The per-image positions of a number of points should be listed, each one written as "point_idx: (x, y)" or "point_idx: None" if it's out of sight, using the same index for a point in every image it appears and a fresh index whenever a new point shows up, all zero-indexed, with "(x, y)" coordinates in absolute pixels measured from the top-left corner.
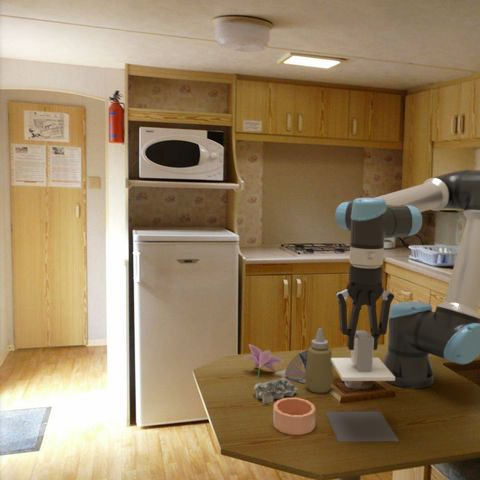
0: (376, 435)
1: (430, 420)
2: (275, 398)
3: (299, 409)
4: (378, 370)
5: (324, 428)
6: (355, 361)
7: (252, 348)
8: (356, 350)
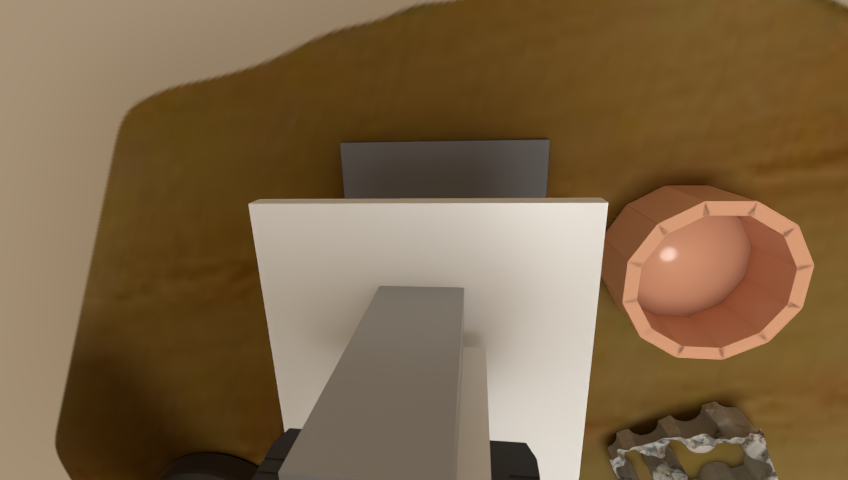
0: (405, 177)
1: (214, 276)
2: (692, 427)
3: (652, 319)
4: (330, 307)
5: None
6: (474, 361)
7: None
8: (469, 422)
